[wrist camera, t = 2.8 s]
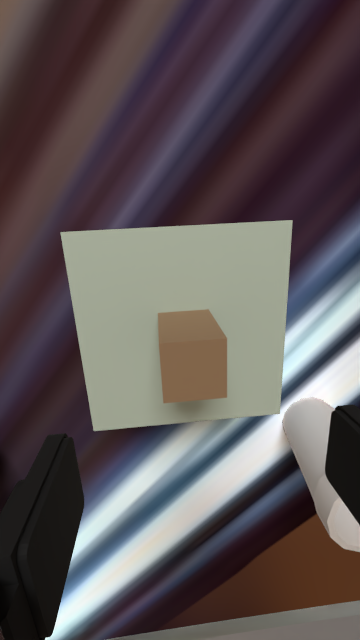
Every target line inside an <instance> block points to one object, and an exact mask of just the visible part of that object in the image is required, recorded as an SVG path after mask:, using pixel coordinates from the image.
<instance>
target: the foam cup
mask: <svg viewBox="0 0 360 640" xmlns="http://www.w3.org/2000/svg"><path fill="white" fill-rule="evenodd" d="M332 411H335V409H334V408H333V407H331V406H330V405H329V404H327V403H326V402H324V401H323V400H321V399H317V398H314V397H310V398H303V399H300V400H299V401H297V402H295V403H293V404H292V405H291V406H290V407H289V408H288V409H287V411H286V412H285V414H284V418H283V421H282V423H283V427H284V431H285V433H286V436H287V438H288V440H289V443H290V445H291V448H292V450H293V452H294V455H295V457H296V459H297V462H298V464H299V467H300V469H301V471H302V474H303V476H304V478H305V481H306V483H307V486H308V488H309V490H310V493H311V495H312V497H313V500H314V504H315V508H316V512H317V514H318V516H319V518H320V519H321V521H322V523H323V525H324V527H325V528H326V530H327V532H328V534H329V536H330V537H331V538H332V539H333V540H334V541H335V542H336V543H338V544H339V545H340V546H341V547H342V548H343V549H348V550H353V551H358V552H360V525H359V524H358V522H357V521H356V519H355V518H354V517H353V515H352V514H351V512H350V511H349V509H348V508H347V507H346V505H345V504H344V502H343V501H342V500H341V498H340V497H339V495H338V494H337V492H336V491H335V490H334V488H333V487H332V485H331V484H330V482H329V481H328V479H327V477H326V474H325V462H326V454H327V445H328V437H329V428H330V420H331V413H332Z"/></svg>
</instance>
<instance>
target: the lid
mask: <svg viewBox="0 0 360 640" xmlns="http://www.w3.org/2000/svg"><path fill="white" fill-rule="evenodd" d="M291 235H292V220H287V221H267V222H248V223H229V224H209V225H190V226H171V227H152V228H132V229H113V230H94V231H75V232H61V238H62V244H63V250H64V256H65V262H66V268H67V274H68V280H69V286H70V292H71V298H72V304H73V310H74V316H75V322H76V328H77V334H78V340H79V346H80V352H81V358H82V364H83V370H84V375H85V381H86V387H87V393H88V399H89V405H90V411H91V417H92V423H93V429H94V431H100V430H111V429H121V428H132V427H143V426H154V425H164V424H175V423H186V422H196V421H207V420H218V419H229V418H239V417H250V416H261V415H271V414H280V402H281V387H282V372H283V356H284V341H285V326H286V311H287V296H288V280H289V265H290V250H291Z"/></svg>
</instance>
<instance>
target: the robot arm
mask: <svg viewBox="0 0 360 640" xmlns="http://www.w3.org/2000/svg"><path fill="white" fill-rule="evenodd" d="M325 474H326V477H327V479H328V481H329V482H330V484H331V485H332V487H333V488H334V490H335V491H336V492H337V494H338V495H339V497H340V498H341V500H342V501H343V502H344V504H345V505H346V507H347V508H348V509H349V511H350V512H351V514H352V515H353V517H354V518H355V519H356V521H357V522H358V524H359V525H360V409H359V408H358V407H356V406H355V405H344V406H337V407H336V408H335V411H332V413H331V420H330V428H329V437H328V445H327V454H326V462H325ZM83 508H84V495H83V490H82V484H81V479H80V474H79V469H78V463H77V458H76V453H75V447H74V442H73V438H72V437H69V438H68V437H67V434H55V435H48V436H47V438H46V439H45V441H44V443H43V445H42V447H41V449H40V451H39V453H38V455H37V457H36V459H35V461H34V463H33V465H32V467H31V469H30V471H29V473H28V475H27V477H26V479H25V480H20V481H19V482H18V483H17V484H16V486H15V487H14V489H13V491H12V493H11V495H10V496H9V498H8V500H7V502H6V504H5V506H4V508H3V509H2V511H1V513H0V640H45V637H50V636H51V635H52V633H53V630H54V626H55V622H56V618H57V614H58V610H59V606H60V602H61V598H62V594H63V590H64V586H65V582H66V578H67V574H68V570H69V565H70V561H71V557H72V553H73V549H74V545H75V541H76V537H77V533H78V529H79V525H80V521H81V517H82V513H83ZM108 640H360V601H354V602H347V603H340V604H333V605H326V606H319V607H313V608H306V609H299V610H292V611H286V612H279V613H272V614H266V615H259V616H253V617H247V618H239V619H233V620H226V621H220V622H214V623H207V624H201V625H194V626H188V627H182V628H176V629H169V630H163V631H156V632H150V633H143V634H137V635H131V636H125V637H119V638H113V639H108Z"/></svg>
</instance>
